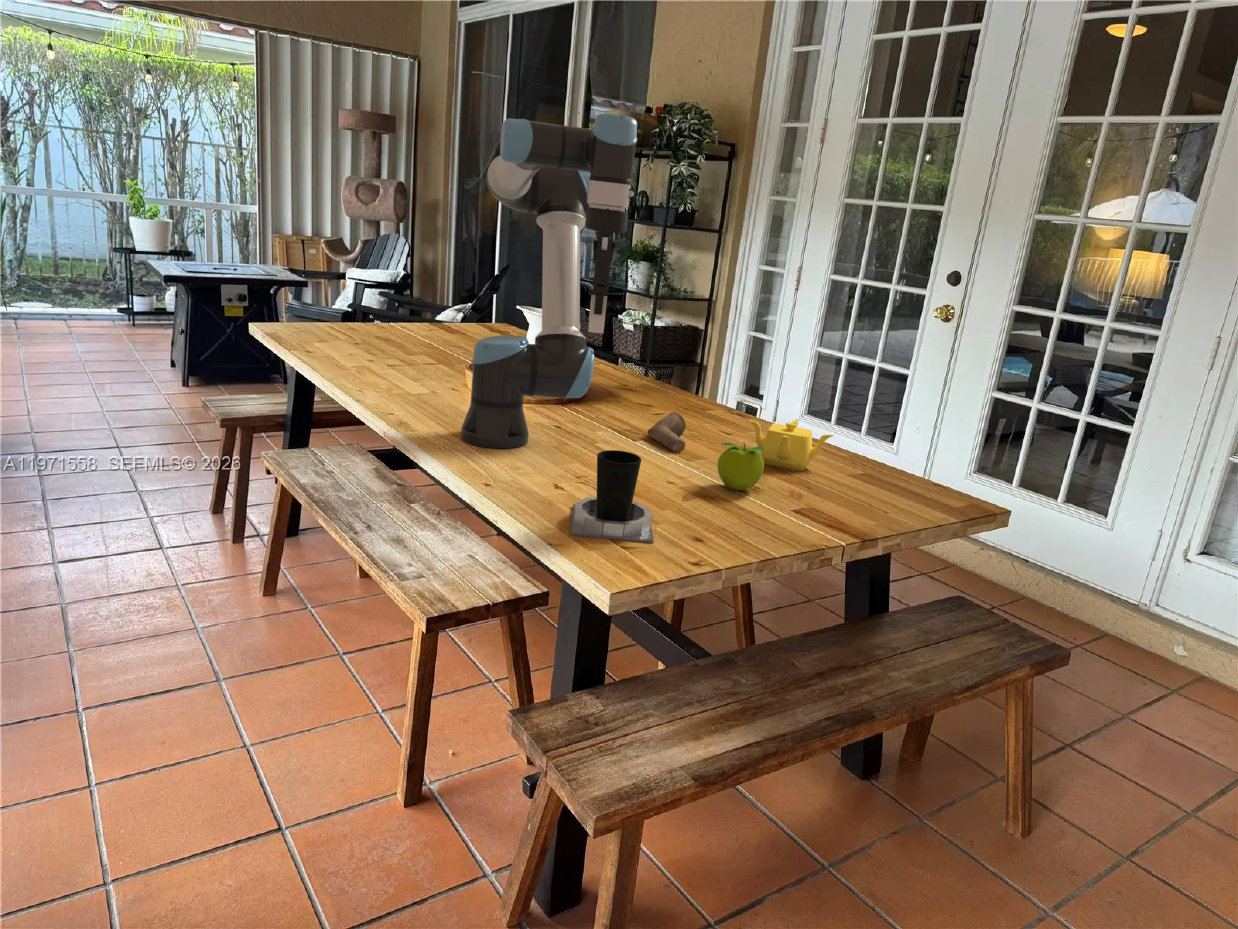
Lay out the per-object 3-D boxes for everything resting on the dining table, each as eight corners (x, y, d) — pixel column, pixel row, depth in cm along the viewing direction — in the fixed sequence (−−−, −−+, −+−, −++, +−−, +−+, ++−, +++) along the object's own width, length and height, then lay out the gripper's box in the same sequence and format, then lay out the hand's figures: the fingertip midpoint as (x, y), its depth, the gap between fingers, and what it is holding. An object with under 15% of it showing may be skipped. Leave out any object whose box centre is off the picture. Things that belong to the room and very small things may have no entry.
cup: (591, 527, 145) (598, 461, 141) (589, 512, 152) (596, 448, 148) (635, 531, 145) (643, 465, 142) (631, 515, 153) (639, 452, 149)
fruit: (749, 499, 170) (757, 452, 167) (708, 487, 174) (714, 441, 171) (766, 489, 178) (774, 444, 175) (726, 478, 182) (733, 433, 179)
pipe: (671, 434, 194) (709, 427, 198) (639, 415, 208) (674, 408, 212) (672, 460, 196) (709, 452, 200) (640, 439, 211) (675, 432, 214)
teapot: (828, 471, 196) (835, 431, 193) (779, 474, 190) (786, 432, 187) (789, 452, 208) (795, 414, 205) (742, 454, 202) (748, 415, 199)
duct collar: (571, 535, 142) (572, 520, 141) (573, 506, 155) (574, 492, 154) (653, 543, 142) (655, 528, 142) (648, 513, 156) (650, 500, 155)
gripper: (631, 211, 138) (617, 339, 144) (626, 209, 162) (614, 319, 168) (585, 206, 138) (574, 335, 144) (587, 205, 162) (577, 315, 168)
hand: (595, 327), depth 156 cm, fingers open, 13 cm apart
